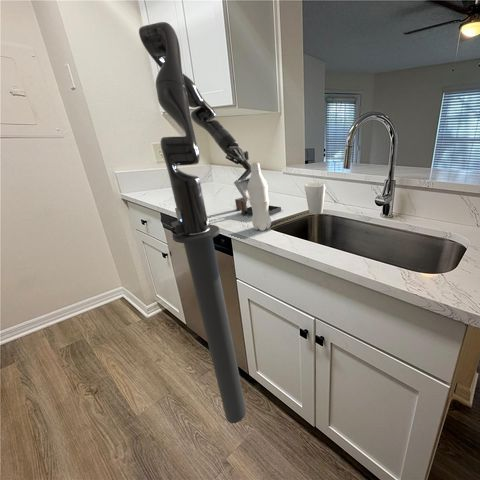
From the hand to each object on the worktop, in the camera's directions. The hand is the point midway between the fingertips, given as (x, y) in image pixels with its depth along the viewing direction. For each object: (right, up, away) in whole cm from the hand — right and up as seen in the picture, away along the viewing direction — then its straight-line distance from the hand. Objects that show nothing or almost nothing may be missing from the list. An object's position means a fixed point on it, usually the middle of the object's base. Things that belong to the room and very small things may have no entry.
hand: (249, 168), depth 118 cm
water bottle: (+9, -28, -15) cm, 33 cm away
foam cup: (+30, -20, +3) cm, 36 cm away
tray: (+4, -19, +6) cm, 20 cm away
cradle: (-4, -17, +10) cm, 21 cm away
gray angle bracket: (-3, -9, +6) cm, 11 cm away
